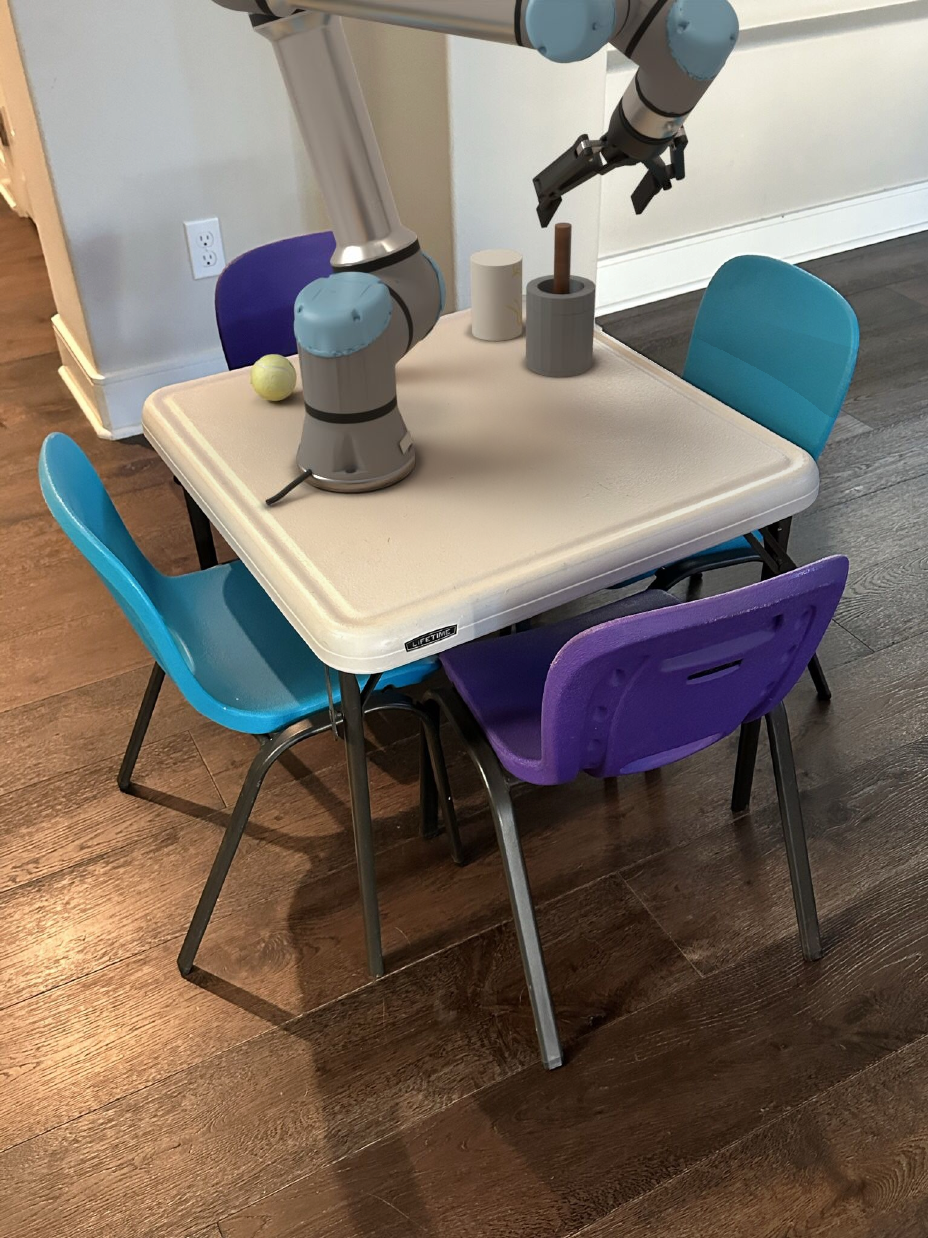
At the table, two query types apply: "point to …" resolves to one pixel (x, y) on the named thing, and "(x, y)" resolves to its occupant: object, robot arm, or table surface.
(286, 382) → the tennis ball
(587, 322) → the grey thick-walled tube
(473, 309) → the cream marbled cylinder
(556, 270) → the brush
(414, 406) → the table surface
